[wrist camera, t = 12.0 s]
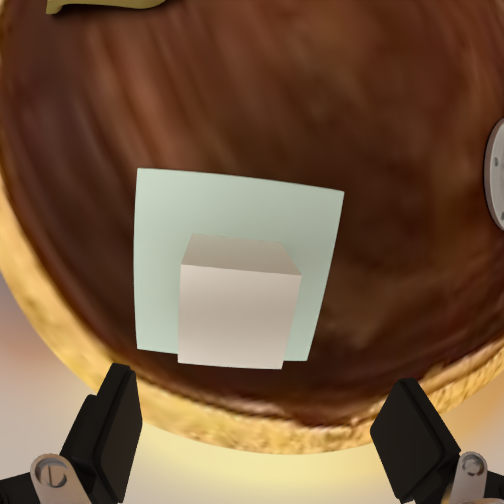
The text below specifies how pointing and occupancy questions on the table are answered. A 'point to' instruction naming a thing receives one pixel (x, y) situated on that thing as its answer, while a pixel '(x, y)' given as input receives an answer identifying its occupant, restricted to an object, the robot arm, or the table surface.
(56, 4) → the plastic component
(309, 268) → the stub plate
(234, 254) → the off-white plain cube
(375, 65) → the table surface
